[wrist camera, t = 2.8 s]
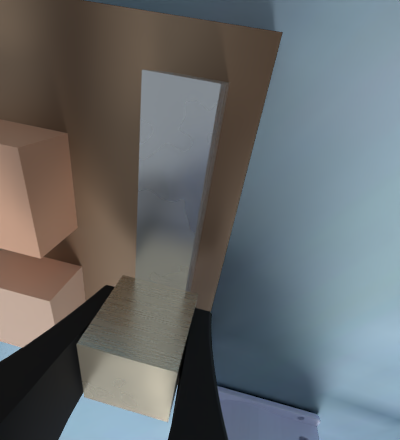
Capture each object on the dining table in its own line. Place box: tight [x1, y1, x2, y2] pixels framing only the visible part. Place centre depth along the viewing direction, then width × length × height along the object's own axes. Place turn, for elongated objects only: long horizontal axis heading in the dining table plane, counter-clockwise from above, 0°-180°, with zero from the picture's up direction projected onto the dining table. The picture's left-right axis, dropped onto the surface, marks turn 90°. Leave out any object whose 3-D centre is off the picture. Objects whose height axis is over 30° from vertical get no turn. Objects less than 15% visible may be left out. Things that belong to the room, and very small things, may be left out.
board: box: [0, 0, 282, 385], centre depth 14 cm, size 14×20×2 cm
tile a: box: [0, 119, 78, 259], centre depth 10 cm, size 4×4×2 cm
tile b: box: [0, 249, 86, 347], centre depth 14 cm, size 4×4×2 cm
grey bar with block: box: [76, 70, 229, 422], centre depth 10 cm, size 3×17×6 cm, turn 171°
